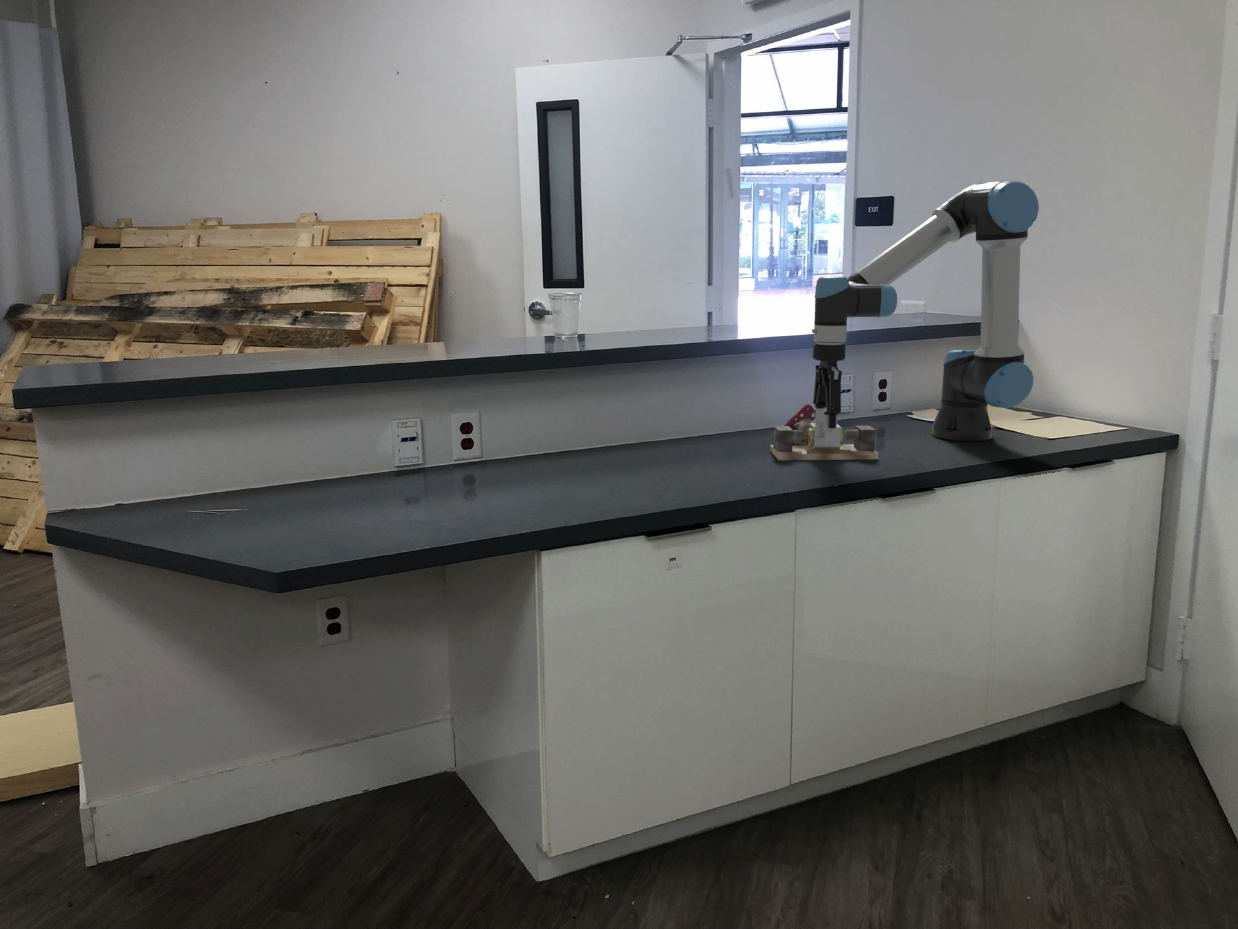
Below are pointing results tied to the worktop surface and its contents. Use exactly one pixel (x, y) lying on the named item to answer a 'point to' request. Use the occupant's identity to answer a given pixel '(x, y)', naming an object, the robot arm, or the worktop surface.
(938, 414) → the robot arm
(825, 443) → the coupler
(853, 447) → the shaft bench
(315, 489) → the worktop surface
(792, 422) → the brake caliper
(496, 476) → the worktop surface
